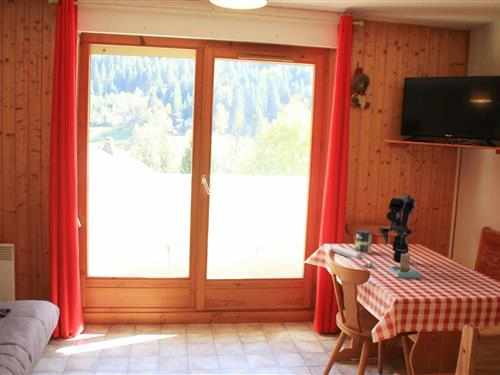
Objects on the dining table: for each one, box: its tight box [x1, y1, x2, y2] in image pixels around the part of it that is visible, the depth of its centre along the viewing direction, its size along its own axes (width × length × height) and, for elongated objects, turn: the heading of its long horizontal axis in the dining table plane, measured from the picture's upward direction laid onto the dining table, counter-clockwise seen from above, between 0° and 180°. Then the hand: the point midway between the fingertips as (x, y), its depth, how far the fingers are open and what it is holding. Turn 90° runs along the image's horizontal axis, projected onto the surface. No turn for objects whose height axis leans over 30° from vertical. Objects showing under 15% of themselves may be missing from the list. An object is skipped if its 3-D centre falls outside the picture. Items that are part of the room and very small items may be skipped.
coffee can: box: [354, 229, 373, 255], centre depth 337 cm, size 10×10×14 cm
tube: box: [329, 243, 362, 260], centre depth 323 cm, size 5×5×25 cm
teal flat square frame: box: [388, 265, 421, 279], centre depth 287 cm, size 13×13×3 cm
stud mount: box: [362, 261, 379, 270], centre depth 295 cm, size 7×7×4 cm
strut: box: [399, 253, 411, 273], centre depth 286 cm, size 4×4×11 cm
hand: (393, 244), depth 304 cm, fingers open, 9 cm apart
